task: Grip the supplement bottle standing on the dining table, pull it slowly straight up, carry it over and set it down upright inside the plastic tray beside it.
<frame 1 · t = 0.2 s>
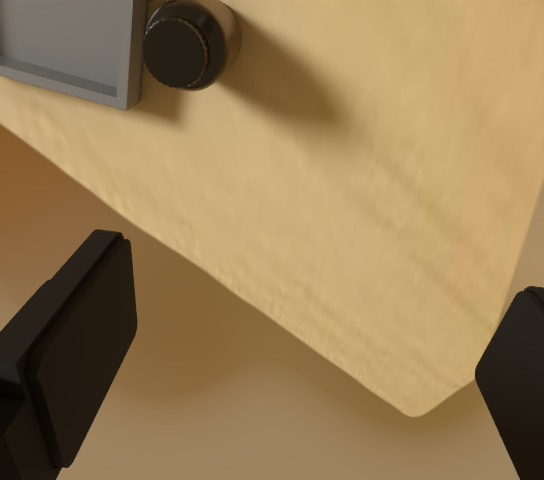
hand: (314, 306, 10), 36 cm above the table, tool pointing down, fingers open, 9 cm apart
supplement bottle: (207, 36, 40), on the table
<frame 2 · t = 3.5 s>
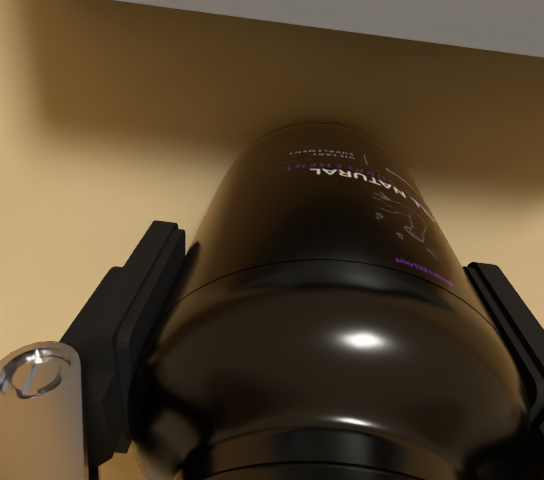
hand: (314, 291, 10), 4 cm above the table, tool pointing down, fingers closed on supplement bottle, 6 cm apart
supplement bottle: (311, 212, 14), on the table, touching gripper
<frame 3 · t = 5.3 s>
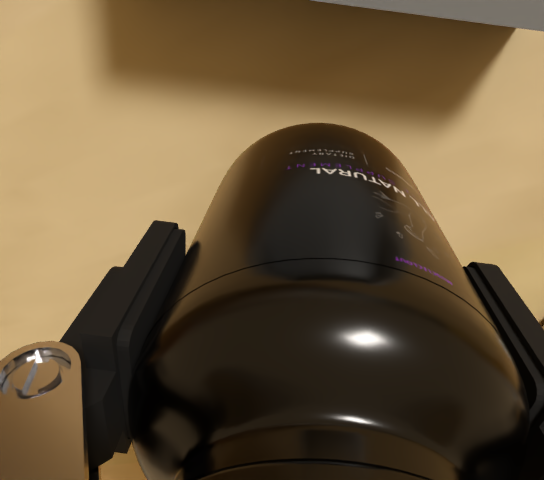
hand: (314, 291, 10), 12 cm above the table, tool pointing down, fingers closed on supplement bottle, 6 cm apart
supplement bottle: (311, 211, 14), point 8 cm above the table, touching gripper
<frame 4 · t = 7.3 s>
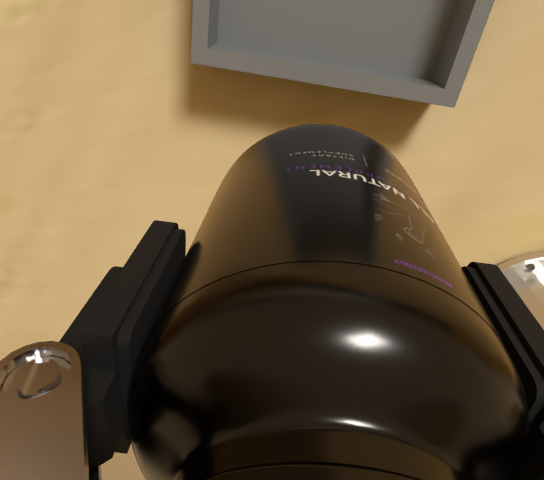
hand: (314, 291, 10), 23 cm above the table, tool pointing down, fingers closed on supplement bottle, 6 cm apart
supplement bottle: (311, 212, 14), point 18 cm above the table, touching gripper
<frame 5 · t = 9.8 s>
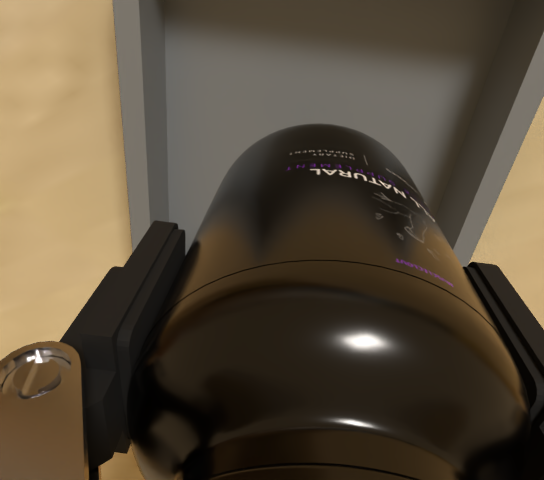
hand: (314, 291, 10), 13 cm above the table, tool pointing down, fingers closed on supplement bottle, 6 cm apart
tray: (310, 142, 22), on the table
supplement bottle: (311, 212, 14), point 8 cm above the table, touching gripper
when the fingers open (7 cm above the table, at t = 11.6 s): supplement bottle drops 1 cm, resting on tray.
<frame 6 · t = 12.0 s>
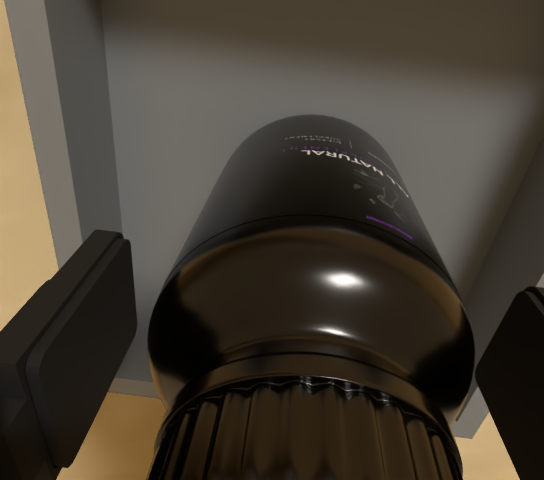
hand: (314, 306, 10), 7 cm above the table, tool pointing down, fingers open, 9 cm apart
tray: (310, 186, 16), on the table
supplement bottle: (306, 196, 16), point 1 cm above the table, touching tray
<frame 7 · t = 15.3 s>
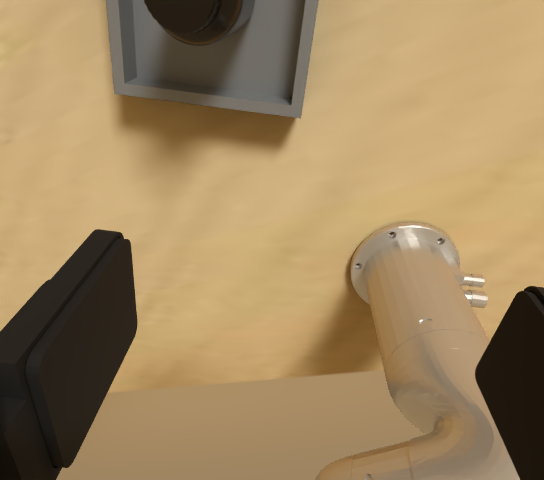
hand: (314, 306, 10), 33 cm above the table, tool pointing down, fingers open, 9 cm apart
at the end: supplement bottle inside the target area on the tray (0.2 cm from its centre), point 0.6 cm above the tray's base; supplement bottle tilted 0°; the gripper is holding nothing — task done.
